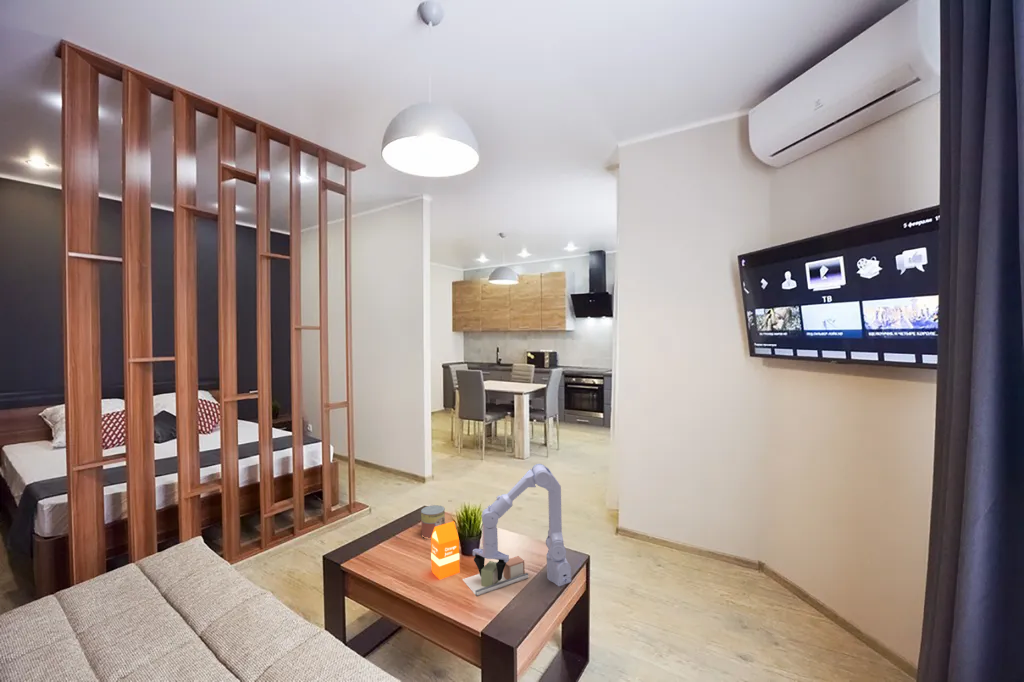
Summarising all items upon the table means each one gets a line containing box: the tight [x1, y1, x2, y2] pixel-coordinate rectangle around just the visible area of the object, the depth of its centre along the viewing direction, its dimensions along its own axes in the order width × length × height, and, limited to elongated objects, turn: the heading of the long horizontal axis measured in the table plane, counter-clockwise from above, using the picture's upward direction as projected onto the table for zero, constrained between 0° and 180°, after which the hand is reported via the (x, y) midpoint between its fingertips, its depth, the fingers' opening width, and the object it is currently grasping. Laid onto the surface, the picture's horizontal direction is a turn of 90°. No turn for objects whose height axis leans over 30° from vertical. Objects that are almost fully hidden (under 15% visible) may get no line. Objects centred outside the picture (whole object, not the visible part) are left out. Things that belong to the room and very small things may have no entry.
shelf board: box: [462, 572, 529, 597], centre depth 165 cm, size 13×22×2 cm, turn 120°
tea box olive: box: [481, 560, 499, 587], centre depth 162 cm, size 5×7×6 cm
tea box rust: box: [503, 555, 526, 580], centre depth 166 cm, size 5×7×6 cm
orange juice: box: [430, 520, 461, 580], centre depth 170 cm, size 8×9×20 cm
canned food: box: [420, 504, 446, 538], centre depth 207 cm, size 11×11×12 cm
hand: (491, 577), depth 162 cm, fingers open, 7 cm apart
